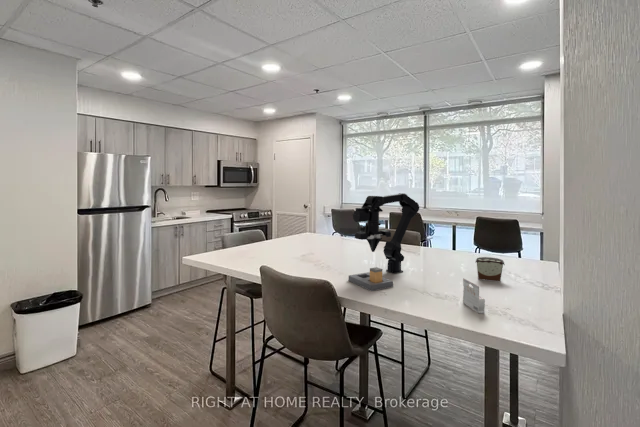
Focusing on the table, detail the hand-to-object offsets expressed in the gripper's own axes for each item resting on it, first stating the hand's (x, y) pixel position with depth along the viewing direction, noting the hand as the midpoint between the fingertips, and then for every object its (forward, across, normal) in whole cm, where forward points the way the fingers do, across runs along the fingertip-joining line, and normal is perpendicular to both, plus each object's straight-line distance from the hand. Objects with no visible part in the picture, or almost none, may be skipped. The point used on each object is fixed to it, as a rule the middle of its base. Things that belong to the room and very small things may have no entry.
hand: (373, 251), depth 166 cm
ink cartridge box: (+12, -5, +54) cm, 56 cm away
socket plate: (+12, +10, +11) cm, 19 cm away
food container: (+12, -44, +33) cm, 56 cm away
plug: (+12, +10, +15) cm, 22 cm away
